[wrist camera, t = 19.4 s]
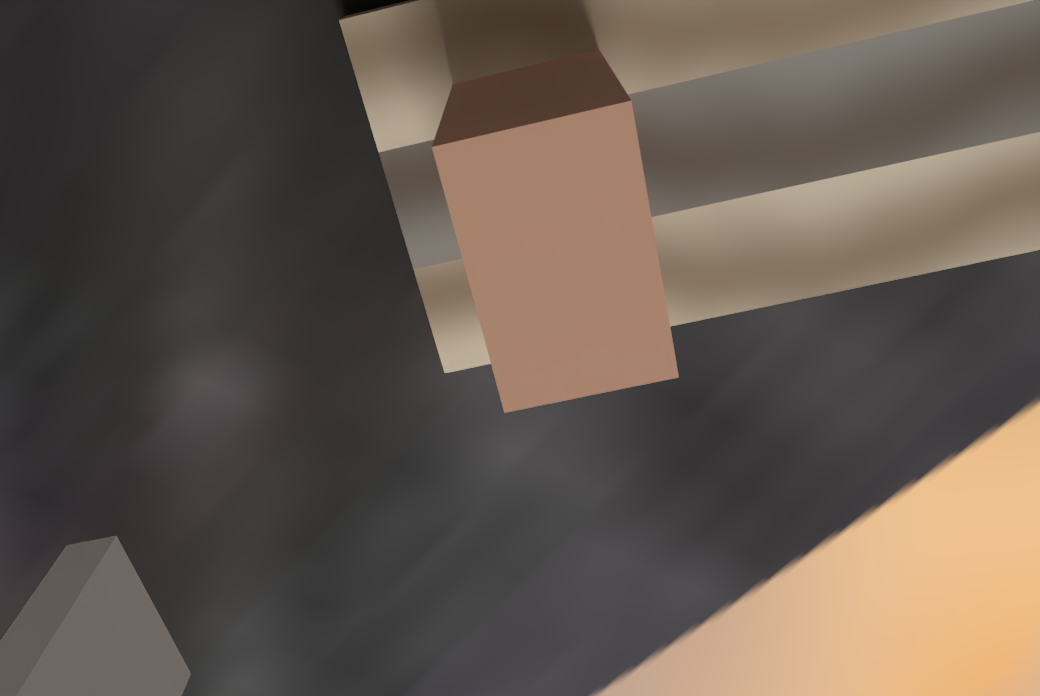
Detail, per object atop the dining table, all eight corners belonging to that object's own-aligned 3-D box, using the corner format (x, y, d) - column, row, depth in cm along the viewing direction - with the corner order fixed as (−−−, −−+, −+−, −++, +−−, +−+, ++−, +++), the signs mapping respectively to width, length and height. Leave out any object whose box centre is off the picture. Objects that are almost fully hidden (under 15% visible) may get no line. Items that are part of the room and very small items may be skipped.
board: (345, 16, 27) (338, 20, 26) (1089, -169, 25) (1115, -172, 24) (446, 357, 32) (444, 373, 31) (1071, 227, 30) (1091, 239, 29)
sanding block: (452, 84, 27) (431, 147, 20) (598, 48, 27) (631, 100, 19) (506, 292, 30) (504, 412, 23) (638, 263, 30) (678, 377, 22)
